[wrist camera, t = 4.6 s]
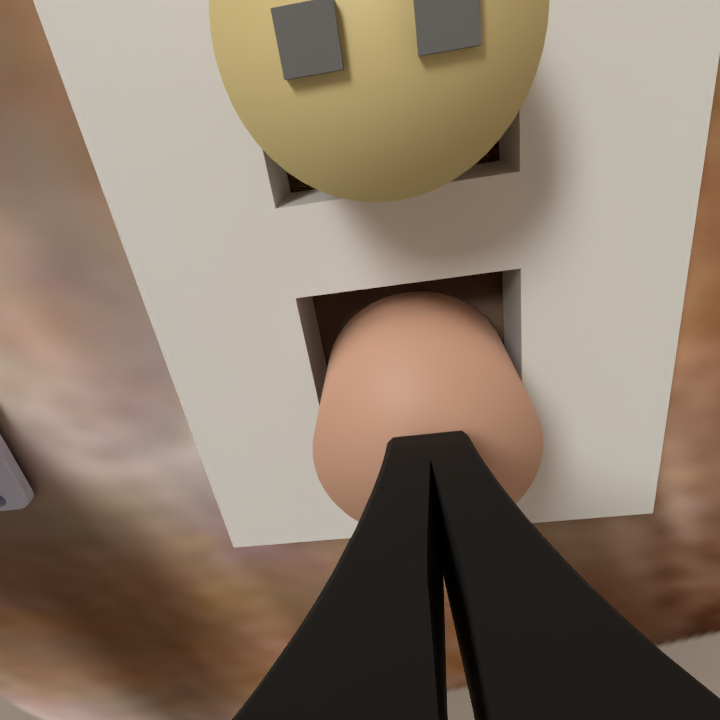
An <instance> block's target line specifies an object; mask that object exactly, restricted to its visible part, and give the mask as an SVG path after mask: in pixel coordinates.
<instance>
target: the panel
mask: <svg viewBox="0 0 720 720" xmlns="http://www.w3.org/2000/svg"><path fill="white" fill-rule="evenodd" d="M33 1H34V4H35V7H36V9H37V12H38V15H39V18H40V20H41V23H42V26H43V29H44V31H45V34H46V37H47V39H48V42H49V45H50V48H51V50H52V53H53V56H54V59H55V61H56V64H57V67H58V69H59V72H60V75H61V78H62V80H63V83H64V86H65V89H66V91H67V94H68V97H69V99H70V102H71V105H72V108H73V110H74V113H75V116H76V119H77V121H78V124H79V127H80V130H81V132H82V135H83V138H84V140H85V143H86V146H87V149H88V151H89V154H90V157H91V160H92V162H93V165H94V168H95V170H96V173H97V176H98V179H99V181H100V184H101V187H102V190H103V192H104V195H105V198H106V200H107V203H108V206H109V209H110V211H111V214H112V217H113V220H114V222H115V225H116V228H117V230H118V233H119V236H120V239H121V241H122V244H123V247H124V250H125V252H126V255H127V258H128V260H129V263H130V266H131V269H132V271H133V274H134V277H135V280H136V282H137V285H138V288H139V290H140V293H141V296H142V299H143V301H144V304H145V307H146V310H147V312H148V315H149V318H150V320H151V323H152V326H153V329H154V331H155V334H156V337H157V340H158V342H159V345H160V348H161V350H162V353H163V356H164V359H165V361H166V364H167V367H168V370H169V372H170V375H171V378H172V380H173V383H174V386H175V389H176V391H177V394H178V397H179V400H180V402H181V405H182V408H183V410H184V413H185V416H186V419H187V421H188V424H189V427H190V430H191V432H192V435H193V438H194V440H195V443H196V446H197V449H198V451H199V454H200V457H201V460H202V462H203V465H204V468H205V470H206V473H207V476H208V479H209V481H210V484H211V487H212V490H213V492H214V495H215V498H216V500H217V503H218V506H219V509H220V511H221V514H222V517H223V520H224V522H225V525H226V528H227V530H228V533H229V536H230V539H231V541H232V544H233V547H246V546H258V545H271V544H283V543H295V542H307V541H320V540H332V539H344V538H351V537H352V535H353V533H354V531H355V529H356V527H357V524H358V521H356V520H355V519H353V518H352V517H350V516H349V515H347V514H346V513H345V512H344V511H343V510H341V509H340V508H339V507H338V506H337V505H336V504H335V503H334V502H333V501H332V499H331V498H330V497H329V496H328V494H327V493H326V491H325V490H324V488H323V486H322V484H321V483H320V481H319V479H318V476H317V473H316V470H315V467H314V461H313V437H314V431H315V426H316V421H317V416H318V412H319V407H320V402H321V397H322V392H323V387H324V382H325V377H326V372H327V366H326V361H325V356H324V351H323V346H322V341H321V336H320V332H319V327H318V322H317V317H316V312H315V307H314V302H313V298H312V296H317V295H324V294H332V293H339V292H347V291H354V290H362V289H370V288H377V287H385V286H392V285H400V284H407V283H415V282H422V281H430V280H437V279H445V278H453V277H460V276H468V275H475V274H483V273H490V272H498V271H502V284H503V323H504V347H505V349H506V351H507V353H508V355H509V357H510V359H511V361H512V363H513V365H514V367H515V369H516V371H517V373H518V375H519V377H520V379H521V381H522V383H523V386H524V388H525V390H526V392H527V394H528V396H529V398H530V400H531V402H532V404H533V406H534V408H535V410H536V412H537V415H538V417H539V419H540V423H541V427H542V432H543V454H542V459H541V463H540V467H539V470H538V472H537V474H536V477H535V479H534V481H533V483H532V484H531V486H530V487H529V489H528V491H527V492H526V493H525V494H524V495H523V497H522V498H521V499H520V500H519V501H518V502H517V503H516V505H517V506H518V507H519V509H520V510H521V511H522V512H523V513H524V515H525V516H526V517H527V518H528V520H529V521H530V522H531V523H540V522H552V521H565V520H577V519H589V518H601V517H614V516H626V515H638V514H650V513H653V509H654V502H655V495H656V488H657V481H658V474H659V467H660V461H661V454H662V447H663V440H664V433H665V426H666V419H667V412H668V406H669V399H670V392H671V385H672V378H673V371H674V364H675V357H676V350H677V344H678V337H679V330H680V323H681V316H682V309H683V302H684V295H685V288H686V282H687V275H688V268H689V261H690V254H691V247H692V240H693V233H694V227H695V220H696V213H697V206H698V199H699V192H700V185H701V178H702V171H703V165H704V158H705V151H706V144H707V137H708V130H709V123H710V116H711V110H712V103H713V96H714V89H715V82H716V75H717V68H718V61H719V54H720V0H550V1H549V16H548V26H547V32H546V37H545V43H544V48H543V52H542V56H541V59H540V62H539V66H538V69H537V72H536V75H535V78H534V80H533V83H532V85H531V87H530V90H529V92H528V95H527V97H526V99H525V101H524V103H523V104H522V106H521V108H520V110H519V112H518V113H517V115H516V117H515V119H514V120H513V122H512V123H511V124H510V126H509V127H508V129H507V130H506V131H505V133H504V134H503V136H502V137H501V138H500V139H499V161H494V162H488V163H481V164H475V165H473V166H472V167H471V168H470V169H469V170H467V171H466V172H464V173H463V174H461V175H460V176H458V177H457V178H455V179H454V180H453V181H451V182H449V183H447V184H445V185H443V186H441V187H439V188H437V189H435V190H433V191H430V192H427V193H424V194H422V195H419V196H416V197H412V198H407V199H402V200H398V201H387V202H363V201H355V200H349V199H344V198H339V197H336V196H333V195H330V194H327V193H324V192H321V191H319V190H317V189H313V190H307V191H300V192H294V193H291V191H290V186H289V181H288V176H287V172H286V171H285V170H284V169H283V168H282V167H281V166H279V165H278V164H277V163H276V162H275V161H273V160H272V159H271V158H270V157H269V156H268V155H267V154H266V152H265V151H264V150H263V149H262V148H261V147H260V146H259V145H258V144H257V143H256V141H255V140H254V139H253V137H252V136H251V134H250V133H249V132H248V130H247V129H246V127H245V126H244V125H243V123H242V121H241V119H240V118H239V116H238V114H237V112H236V111H235V109H234V107H233V105H232V103H231V101H230V99H229V96H228V94H227V91H226V89H225V87H224V84H223V82H222V79H221V75H220V72H219V69H218V65H217V62H216V59H215V53H214V48H213V43H212V37H211V30H210V17H209V0H33Z"/></svg>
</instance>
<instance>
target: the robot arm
mask: <svg viewBox="0 0 720 720" xmlns="http://www.w3.org/2000/svg"><path fill="white" fill-rule="evenodd" d="M33 497H34V493H33V490H32V488H31V487H30V485H29V483H28V481H27V480H26V478H25V476H24V474H23V473H22V471H21V469H20V467H19V466H18V464H17V462H16V461H15V459H14V457H13V455H12V454H11V452H10V450H9V448H8V447H7V445H6V443H5V441H4V440H3V438H2V436H1V434H0V511H7V510H18V509H23V508H25V507H26V506H27V505H28V504H29V503H30V502H31V501H32V499H33ZM443 575H444V580H445V585H446V589H447V594H448V598H449V603H450V608H451V612H452V617H453V621H454V626H455V630H456V635H457V639H458V644H459V648H460V653H461V657H462V662H463V666H464V671H465V676H466V680H467V685H468V689H469V693H470V698H471V703H472V707H473V712H474V718H475V720H720V698H718V697H717V696H716V695H715V694H713V693H712V692H711V691H710V690H709V689H707V688H706V687H705V686H704V685H702V684H701V683H700V682H699V681H697V680H696V679H695V678H694V677H692V676H691V675H690V674H689V673H688V672H686V671H685V670H684V669H683V668H681V667H680V666H679V665H678V664H676V663H675V662H674V661H673V660H672V659H670V658H669V657H668V656H667V655H666V654H664V653H663V652H662V651H661V650H660V649H659V648H657V647H656V646H655V645H654V644H653V643H652V642H651V641H650V640H648V639H647V638H646V637H645V636H644V635H643V634H642V633H641V632H639V631H638V630H637V629H636V628H635V627H634V626H633V625H632V624H631V623H629V622H628V621H627V620H626V619H625V618H624V617H623V616H622V615H620V614H619V613H618V612H617V611H616V610H615V609H614V608H613V607H612V606H611V605H610V604H609V603H608V602H607V601H606V600H605V599H604V598H603V597H601V596H600V595H599V594H598V593H597V592H596V591H595V590H594V589H593V588H592V587H591V586H590V585H589V584H588V583H587V582H586V581H585V580H584V579H583V578H582V577H581V576H580V575H579V574H578V573H577V572H576V571H575V570H574V569H573V568H572V567H571V566H570V565H569V564H568V563H567V562H566V561H565V560H564V559H563V557H562V556H561V555H560V554H559V553H558V552H557V551H556V550H555V549H554V548H553V547H552V545H551V544H550V543H549V542H548V541H547V540H546V539H545V538H544V537H543V536H542V535H541V533H540V532H539V531H538V530H537V529H536V528H535V526H534V525H533V524H532V523H531V522H530V521H529V520H528V518H527V517H526V516H525V515H524V513H523V512H522V511H521V510H520V509H519V507H518V506H517V505H516V504H515V502H514V501H513V500H512V499H511V497H510V496H509V495H508V494H507V492H506V491H505V490H504V489H503V487H502V486H501V485H500V483H499V482H498V481H497V479H496V478H495V477H494V475H493V474H492V472H491V471H490V469H489V468H488V467H487V465H486V464H485V462H484V461H483V459H482V458H481V456H480V455H479V453H478V452H477V450H476V448H475V447H474V445H473V443H472V441H471V439H470V437H469V435H467V434H466V433H465V432H463V431H462V430H461V431H451V432H441V433H431V434H421V435H411V436H401V437H393V438H392V439H391V440H390V441H389V442H388V443H387V447H386V452H385V455H384V459H383V462H382V465H381V468H380V471H379V474H378V477H377V480H376V482H375V485H374V488H373V490H372V493H371V495H370V497H369V499H368V502H367V504H366V506H365V509H364V511H363V513H362V516H361V518H360V520H359V522H358V524H357V527H356V529H355V531H354V533H353V535H352V537H351V539H350V540H349V542H348V544H347V546H346V548H345V550H344V552H343V554H342V556H341V558H340V560H339V562H338V564H337V565H336V567H335V569H334V571H333V573H332V575H331V576H330V578H329V580H328V582H327V583H326V585H325V587H324V588H323V590H322V592H321V594H320V595H319V597H318V598H317V600H316V602H315V603H314V605H313V607H312V608H311V610H310V611H309V613H308V614H307V616H306V618H305V619H304V621H303V622H302V624H301V625H300V627H299V629H298V630H297V632H296V633H295V635H294V636H293V637H292V639H291V640H290V642H289V643H288V645H287V646H286V647H285V649H284V650H283V652H282V653H281V655H280V656H279V657H278V659H277V660H276V662H275V663H274V665H273V666H272V668H271V669H270V670H269V672H268V673H267V675H266V676H265V677H264V679H263V680H262V681H261V683H260V684H259V685H258V687H257V688H256V690H255V691H254V692H253V694H252V695H251V696H250V697H249V699H248V700H247V701H246V703H245V704H244V705H243V707H242V708H241V709H240V710H239V712H238V713H237V714H236V715H235V717H234V718H233V719H232V720H448V717H447V689H446V653H445V617H444V583H443Z"/></svg>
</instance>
